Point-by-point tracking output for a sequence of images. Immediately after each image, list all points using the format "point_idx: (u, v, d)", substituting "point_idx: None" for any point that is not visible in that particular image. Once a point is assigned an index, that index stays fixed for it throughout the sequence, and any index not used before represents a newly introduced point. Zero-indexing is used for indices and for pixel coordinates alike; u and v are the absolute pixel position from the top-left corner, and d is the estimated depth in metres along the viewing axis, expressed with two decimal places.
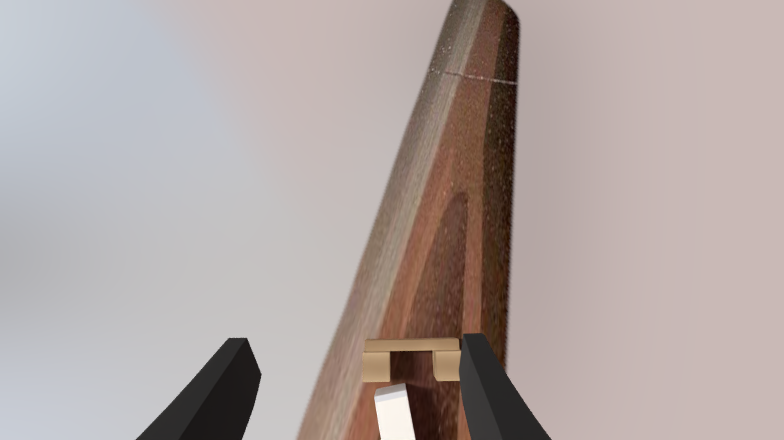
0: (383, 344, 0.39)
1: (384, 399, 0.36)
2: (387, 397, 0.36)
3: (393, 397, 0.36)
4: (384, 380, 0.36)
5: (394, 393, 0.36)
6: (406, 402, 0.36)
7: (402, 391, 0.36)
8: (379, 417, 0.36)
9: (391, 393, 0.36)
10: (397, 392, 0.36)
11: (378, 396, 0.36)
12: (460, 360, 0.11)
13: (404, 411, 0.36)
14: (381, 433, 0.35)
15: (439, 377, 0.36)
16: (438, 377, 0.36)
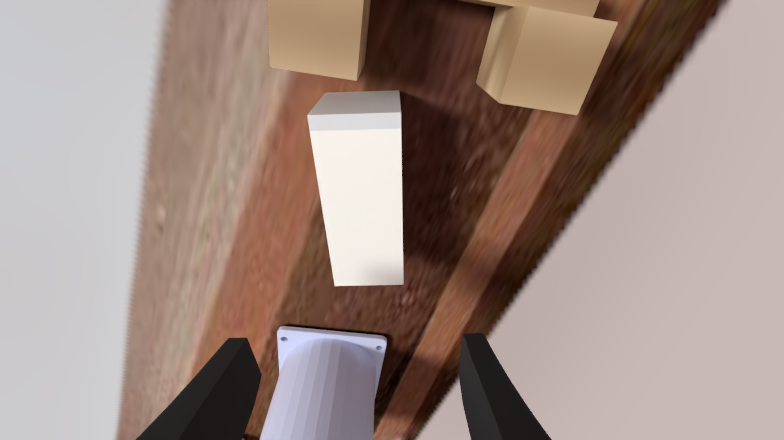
0: None
1: (336, 126, 0.13)
2: (345, 123, 0.13)
3: (362, 125, 0.13)
4: (340, 74, 0.12)
5: (366, 116, 0.12)
6: (396, 143, 0.13)
7: (390, 114, 0.12)
8: (320, 166, 0.13)
9: (358, 114, 0.12)
10: (375, 114, 0.12)
11: (319, 116, 0.12)
12: (460, 360, 0.11)
13: (387, 163, 0.13)
14: (323, 199, 0.14)
15: (509, 94, 0.12)
16: (506, 93, 0.12)
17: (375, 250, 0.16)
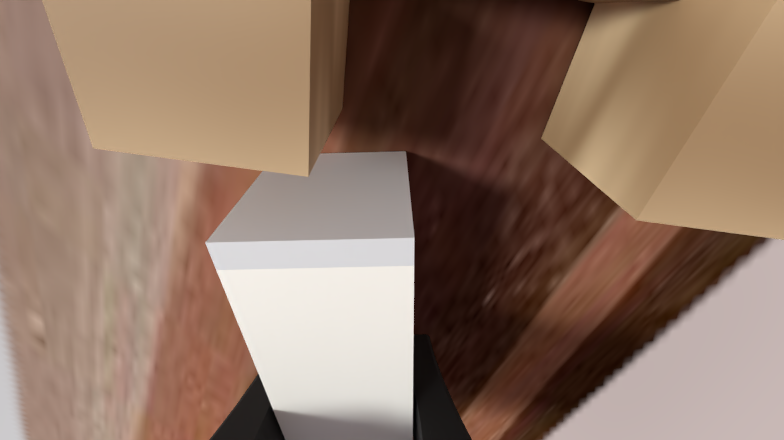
0: None
1: (272, 262, 0.06)
2: (291, 256, 0.06)
3: (329, 261, 0.06)
4: (267, 163, 0.05)
5: (338, 243, 0.06)
6: (404, 291, 0.06)
7: (391, 239, 0.06)
8: (248, 326, 0.07)
9: (319, 239, 0.06)
10: (358, 239, 0.06)
11: (234, 243, 0.06)
12: None
13: (384, 321, 0.07)
14: (262, 372, 0.07)
15: (664, 204, 0.05)
16: (656, 202, 0.05)
17: (364, 432, 0.09)
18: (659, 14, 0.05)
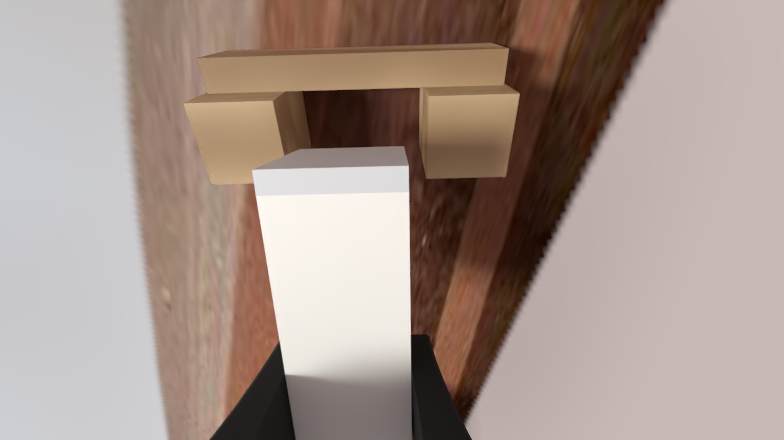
0: (259, 69, 0.12)
1: (300, 189, 0.08)
2: (315, 183, 0.07)
3: (344, 187, 0.08)
4: None
5: (351, 171, 0.07)
6: (401, 217, 0.08)
7: (391, 169, 0.07)
8: (273, 254, 0.08)
9: (337, 169, 0.08)
10: (366, 169, 0.07)
11: (273, 172, 0.07)
12: None
13: (385, 249, 0.08)
14: (279, 308, 0.09)
15: (433, 170, 0.12)
16: (430, 170, 0.12)
17: (365, 391, 0.09)
18: (423, 91, 0.13)
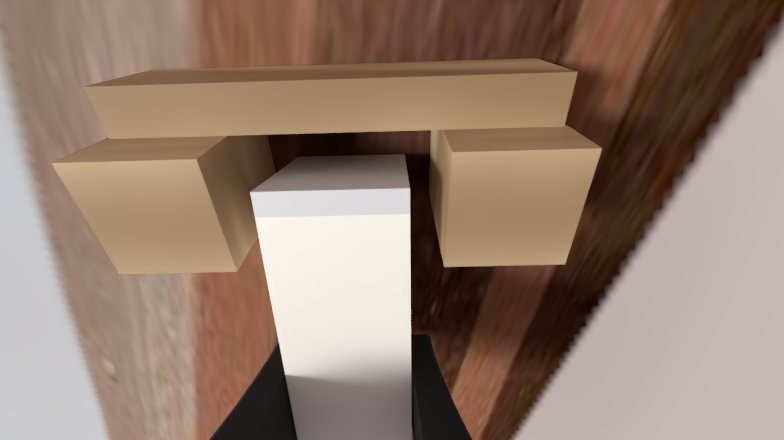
0: (183, 104, 0.08)
1: (299, 211, 0.07)
2: (315, 205, 0.07)
3: (344, 209, 0.07)
4: (212, 268, 0.08)
5: (351, 193, 0.07)
6: (402, 238, 0.08)
7: (392, 191, 0.07)
8: (273, 274, 0.08)
9: None
10: (367, 191, 0.07)
11: (271, 193, 0.07)
12: None
13: (386, 269, 0.08)
14: (280, 325, 0.09)
15: (455, 256, 0.08)
16: (450, 255, 0.08)
17: (367, 402, 0.10)
18: (440, 133, 0.08)
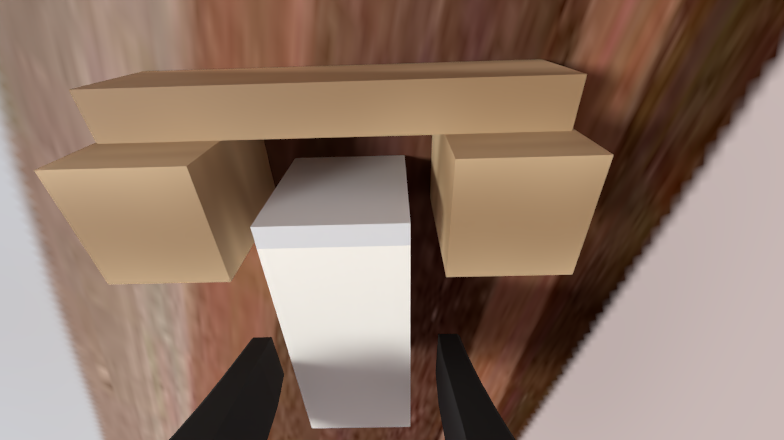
0: (174, 108, 0.07)
1: (300, 243, 0.07)
2: (316, 238, 0.07)
3: (345, 241, 0.07)
4: (204, 278, 0.08)
5: (351, 228, 0.07)
6: (402, 266, 0.08)
7: (392, 224, 0.07)
8: (278, 295, 0.08)
9: (337, 224, 0.07)
10: (367, 225, 0.07)
11: (271, 227, 0.07)
12: (436, 360, 0.11)
13: (387, 291, 0.08)
14: (287, 336, 0.09)
15: (458, 266, 0.08)
16: (453, 265, 0.08)
17: (370, 391, 0.11)
18: (442, 138, 0.08)
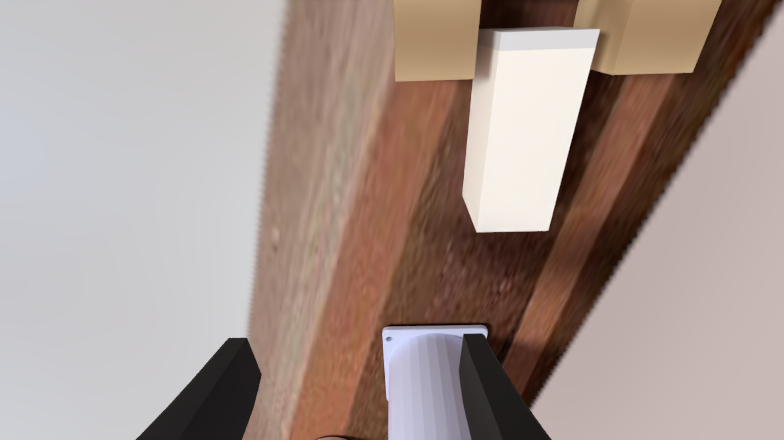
0: None
1: (527, 46, 0.12)
2: (538, 41, 0.12)
3: (555, 45, 0.12)
4: (458, 75, 0.13)
5: (562, 33, 0.12)
6: (585, 66, 0.12)
7: (587, 31, 0.12)
8: (498, 92, 0.13)
9: (553, 32, 0.12)
10: (571, 32, 0.12)
11: (513, 34, 0.12)
12: (460, 360, 0.11)
13: (569, 88, 0.13)
14: (492, 131, 0.14)
15: (621, 64, 0.12)
16: (618, 64, 0.12)
17: (530, 190, 0.15)
18: None
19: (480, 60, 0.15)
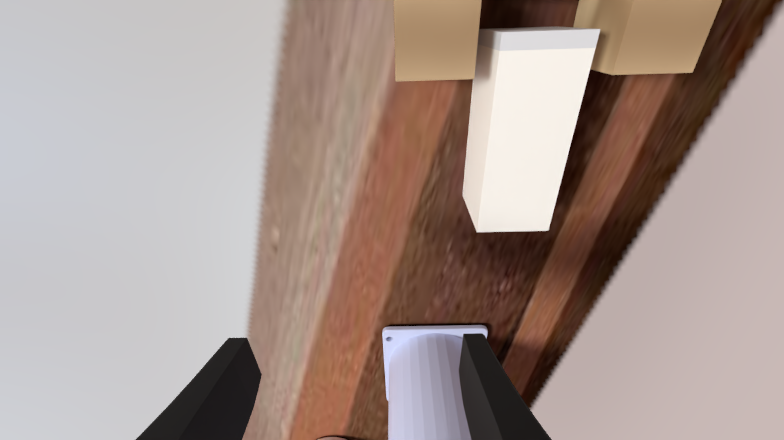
0: None
1: (527, 45, 0.12)
2: (539, 41, 0.12)
3: (556, 44, 0.12)
4: (458, 75, 0.13)
5: (563, 33, 0.12)
6: (586, 66, 0.12)
7: (587, 31, 0.12)
8: (499, 92, 0.13)
9: (553, 32, 0.12)
10: (572, 32, 0.12)
11: (513, 34, 0.12)
12: (460, 360, 0.11)
13: (570, 89, 0.13)
14: (492, 131, 0.14)
15: (622, 64, 0.12)
16: (618, 64, 0.12)
17: (530, 190, 0.15)
18: None
19: (480, 60, 0.15)
